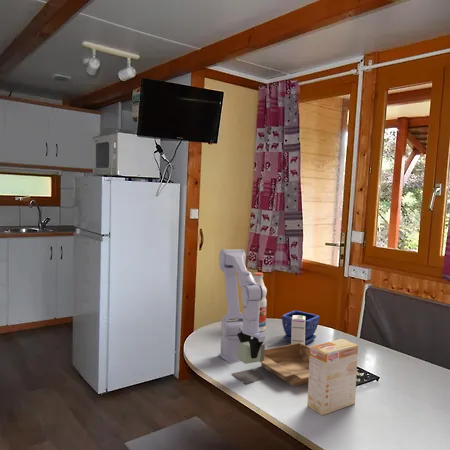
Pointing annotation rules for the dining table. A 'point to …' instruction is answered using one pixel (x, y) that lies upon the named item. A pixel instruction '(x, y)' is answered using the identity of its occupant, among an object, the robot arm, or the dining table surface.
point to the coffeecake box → (332, 376)
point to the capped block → (249, 353)
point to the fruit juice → (263, 303)
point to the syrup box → (298, 329)
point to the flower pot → (309, 321)
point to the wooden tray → (288, 362)
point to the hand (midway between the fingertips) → (249, 355)
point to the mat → (248, 376)
